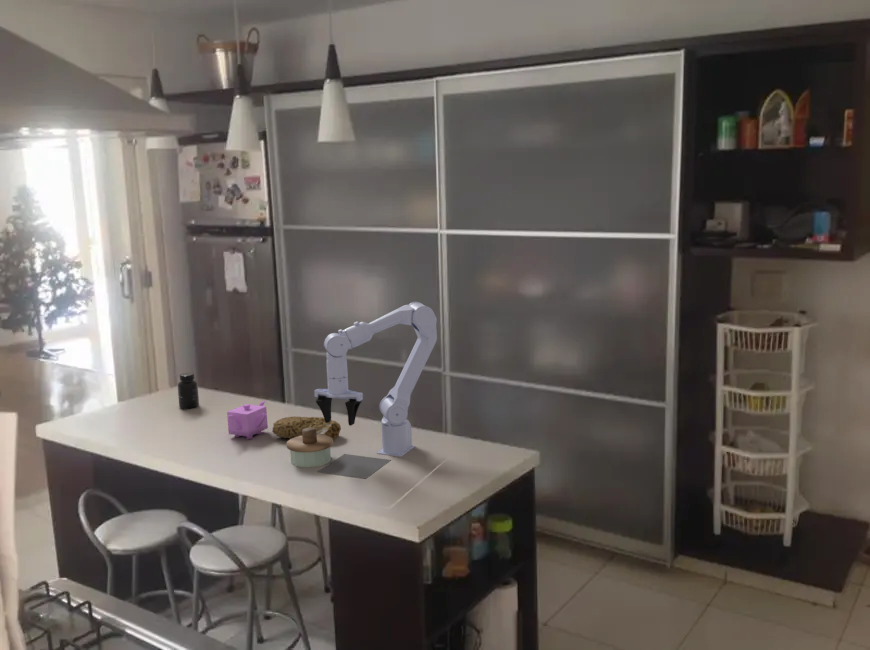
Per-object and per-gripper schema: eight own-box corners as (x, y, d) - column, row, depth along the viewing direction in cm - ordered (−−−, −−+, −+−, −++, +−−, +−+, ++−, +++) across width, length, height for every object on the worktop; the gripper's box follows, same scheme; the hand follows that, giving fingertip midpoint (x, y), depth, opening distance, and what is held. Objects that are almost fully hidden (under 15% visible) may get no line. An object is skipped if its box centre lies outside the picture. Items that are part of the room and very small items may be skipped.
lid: (303, 435, 236) (302, 420, 235) (341, 439, 231) (341, 425, 230) (277, 449, 224) (276, 434, 223) (317, 454, 219) (316, 439, 218)
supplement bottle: (175, 409, 283) (172, 376, 281) (184, 404, 290) (182, 371, 288) (194, 409, 282) (191, 376, 280) (202, 404, 289) (200, 371, 287)
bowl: (305, 452, 235) (304, 436, 235) (337, 457, 231) (337, 440, 230) (283, 465, 226) (282, 448, 225) (317, 470, 221) (316, 452, 220)
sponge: (344, 439, 250) (295, 418, 260) (344, 418, 247) (294, 397, 256) (316, 459, 240) (266, 436, 250) (315, 437, 237) (265, 415, 246)
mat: (344, 455, 233) (344, 453, 232) (391, 461, 227) (391, 459, 226) (316, 473, 219) (316, 471, 219) (365, 480, 213) (365, 478, 213)
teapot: (248, 446, 242) (246, 415, 241) (214, 441, 248) (211, 410, 246) (285, 429, 258) (283, 399, 256) (252, 424, 264) (250, 395, 262)
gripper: (307, 377, 225) (310, 424, 227) (353, 381, 219) (355, 429, 222) (320, 372, 231) (323, 417, 234) (365, 375, 225) (367, 422, 228)
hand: (339, 423), depth 228 cm, fingers open, 7 cm apart
